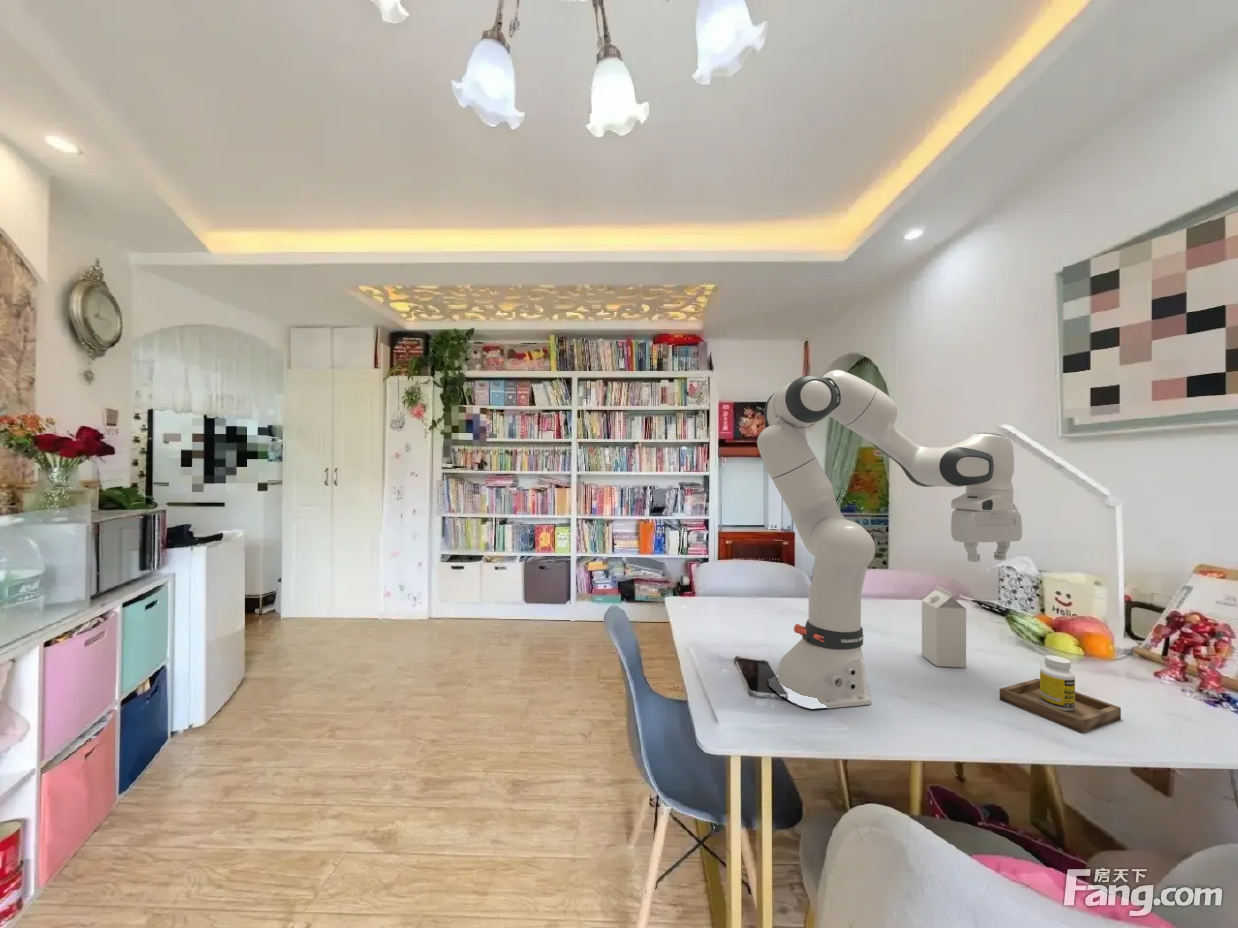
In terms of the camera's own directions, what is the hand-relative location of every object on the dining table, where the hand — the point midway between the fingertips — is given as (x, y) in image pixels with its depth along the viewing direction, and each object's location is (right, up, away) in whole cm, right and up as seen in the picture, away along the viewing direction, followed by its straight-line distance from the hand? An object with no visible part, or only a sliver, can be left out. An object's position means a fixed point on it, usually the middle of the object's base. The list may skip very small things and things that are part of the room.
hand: (986, 560), depth 110 cm
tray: (+6, -29, -12) cm, 32 cm away
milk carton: (-2, -29, +12) cm, 32 cm away
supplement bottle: (+5, -28, -12) cm, 31 cm away
